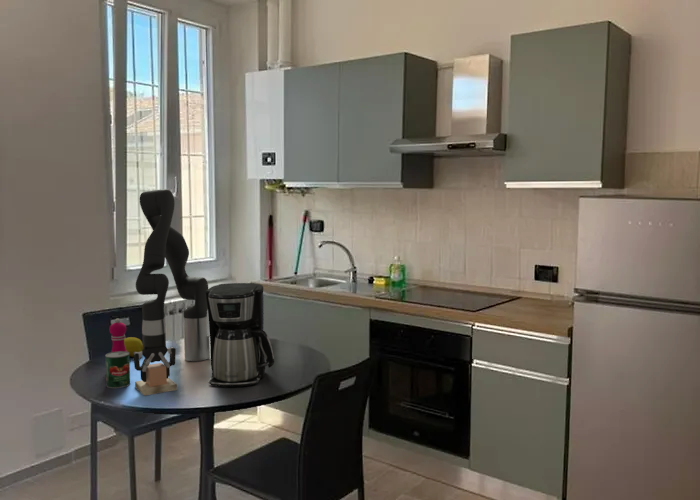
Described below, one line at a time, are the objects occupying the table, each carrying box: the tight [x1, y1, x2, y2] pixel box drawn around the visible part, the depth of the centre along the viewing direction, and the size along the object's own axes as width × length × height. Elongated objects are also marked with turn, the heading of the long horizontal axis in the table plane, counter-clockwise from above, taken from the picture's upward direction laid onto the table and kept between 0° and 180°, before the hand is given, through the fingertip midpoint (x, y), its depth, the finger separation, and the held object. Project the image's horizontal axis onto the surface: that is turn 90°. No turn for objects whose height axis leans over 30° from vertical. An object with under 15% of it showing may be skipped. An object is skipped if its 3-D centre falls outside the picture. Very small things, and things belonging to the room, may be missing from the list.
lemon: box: [124, 336, 143, 358], centre depth 257 cm, size 11×8×8 cm
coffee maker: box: [206, 282, 275, 388], centre depth 229 cm, size 23×32×34 cm
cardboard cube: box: [145, 362, 167, 387], centre depth 214 cm, size 6×6×6 cm
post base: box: [134, 377, 178, 397], centre depth 215 cm, size 11×11×7 cm
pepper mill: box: [108, 318, 127, 353], centre depth 236 cm, size 7×7×20 cm
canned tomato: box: [104, 351, 131, 389], centre depth 219 cm, size 8×8×11 cm
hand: (155, 379), depth 215 cm, fingers open, 7 cm apart
